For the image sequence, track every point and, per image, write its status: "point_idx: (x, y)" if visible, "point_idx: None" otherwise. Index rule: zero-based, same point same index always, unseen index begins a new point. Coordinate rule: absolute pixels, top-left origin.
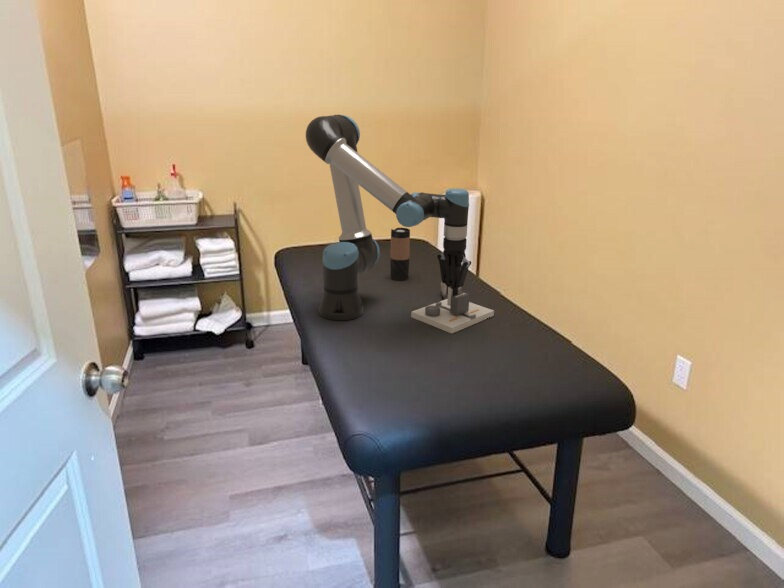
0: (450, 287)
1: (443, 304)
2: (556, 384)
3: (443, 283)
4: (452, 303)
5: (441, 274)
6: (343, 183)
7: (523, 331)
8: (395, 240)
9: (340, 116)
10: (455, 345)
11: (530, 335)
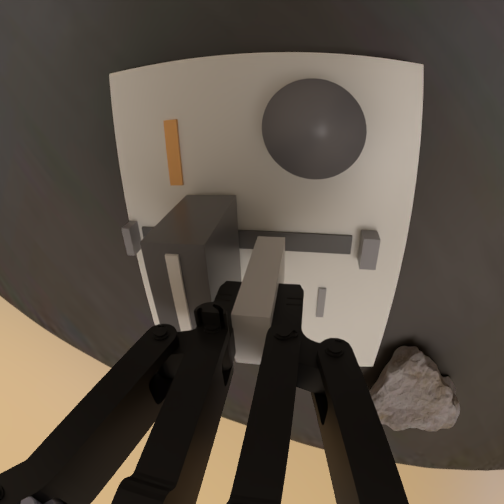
0: (226, 309)
1: (357, 275)
2: None
3: (442, 402)
4: (203, 221)
5: (366, 406)
6: None
7: (48, 287)
8: None
9: None
10: (56, 25)
11: (27, 276)
